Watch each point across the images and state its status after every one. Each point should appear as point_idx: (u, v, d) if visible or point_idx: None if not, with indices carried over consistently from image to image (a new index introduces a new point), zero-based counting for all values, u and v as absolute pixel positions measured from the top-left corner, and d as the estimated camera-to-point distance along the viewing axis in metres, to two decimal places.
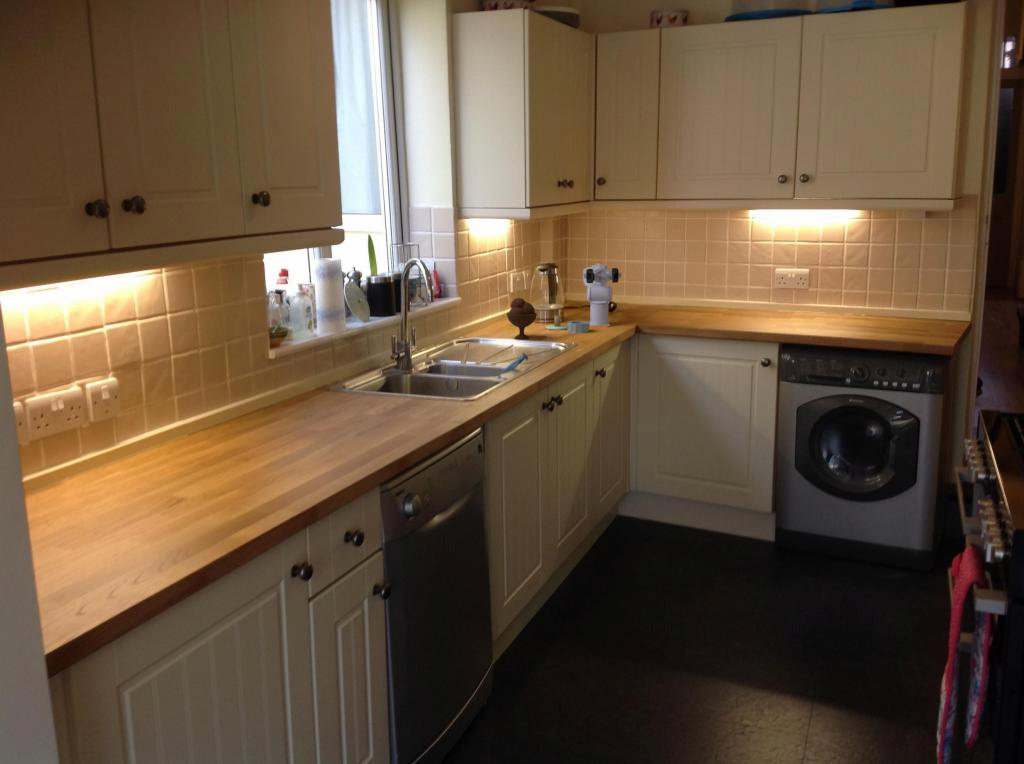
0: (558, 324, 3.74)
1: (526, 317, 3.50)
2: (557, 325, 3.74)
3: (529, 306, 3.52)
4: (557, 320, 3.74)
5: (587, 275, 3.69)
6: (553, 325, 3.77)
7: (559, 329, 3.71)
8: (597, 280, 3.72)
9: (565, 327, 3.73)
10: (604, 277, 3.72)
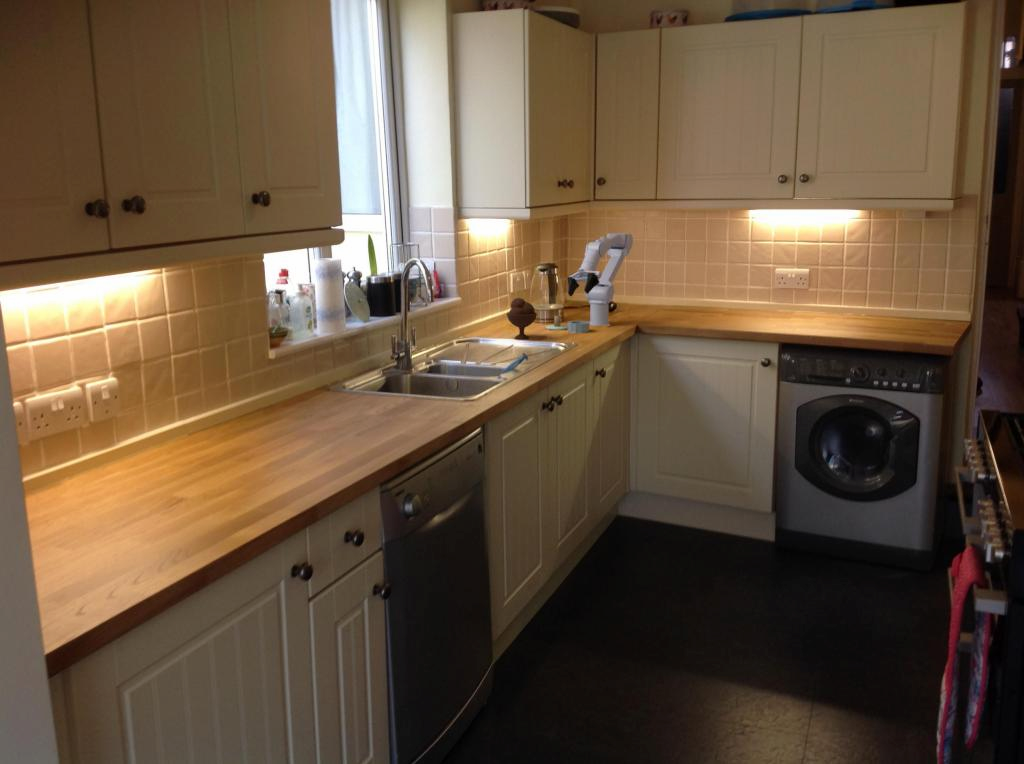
0: (558, 324, 3.74)
1: (526, 317, 3.50)
2: (557, 325, 3.74)
3: (529, 306, 3.52)
4: (557, 320, 3.74)
5: None
6: (553, 325, 3.77)
7: (559, 329, 3.71)
8: (583, 280, 3.71)
9: (565, 327, 3.73)
10: None
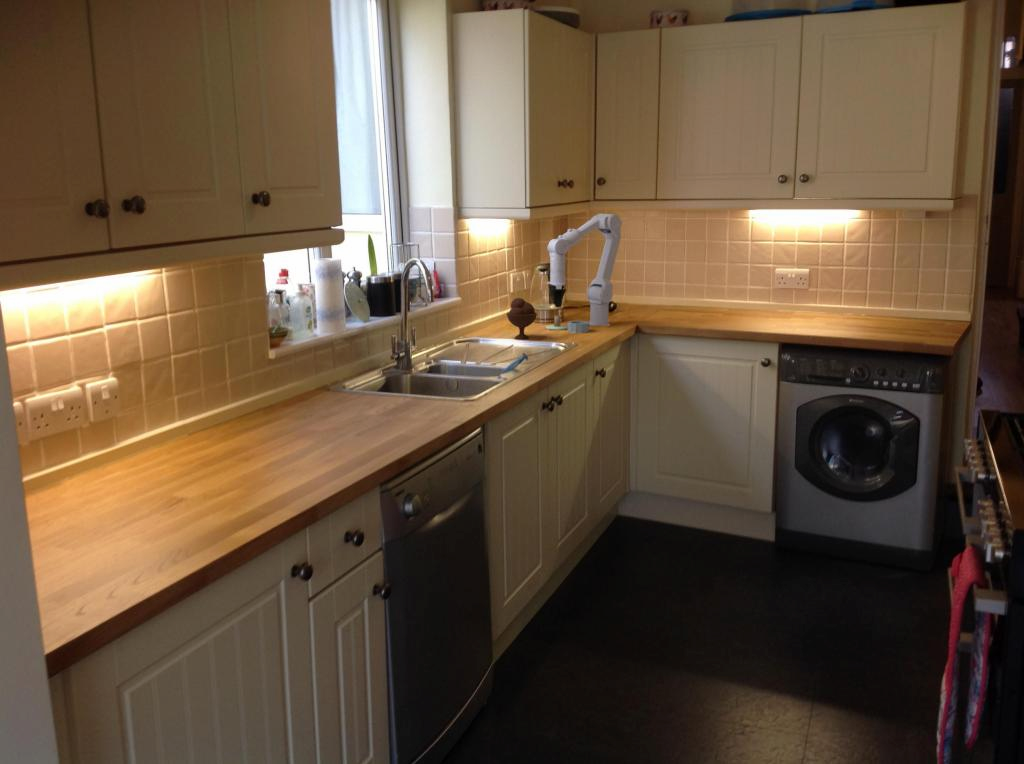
0: (558, 324, 3.74)
1: (526, 317, 3.50)
2: (557, 325, 3.74)
3: (529, 306, 3.52)
4: (557, 320, 3.74)
5: None
6: (553, 325, 3.77)
7: (559, 329, 3.71)
8: None
9: (565, 327, 3.73)
10: None
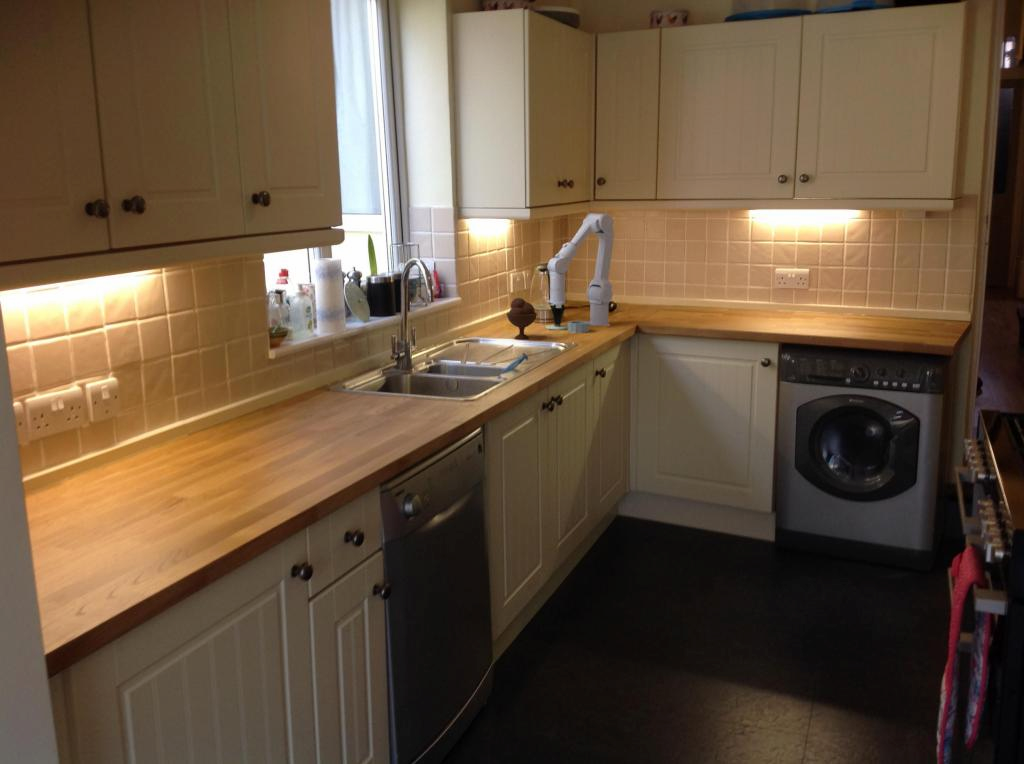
0: None
1: (526, 317, 3.50)
2: (557, 325, 3.74)
3: (529, 306, 3.52)
4: None
5: None
6: (553, 325, 3.77)
7: (559, 329, 3.71)
8: None
9: (565, 327, 3.72)
10: None
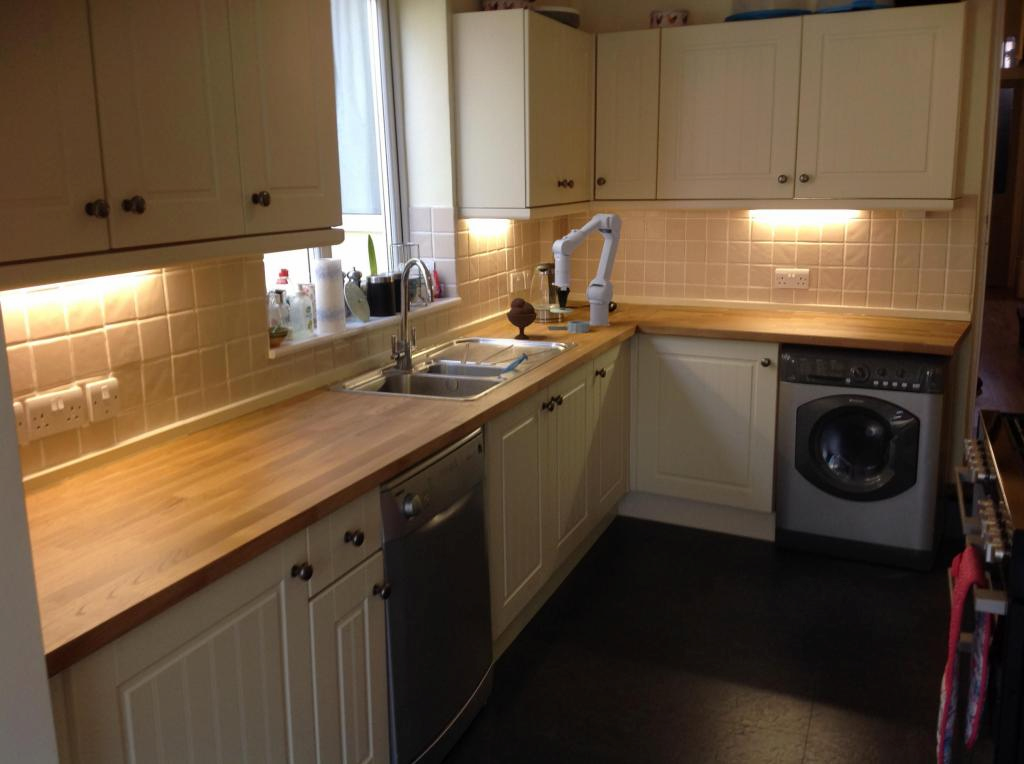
0: None
1: (526, 317, 3.50)
2: (562, 308, 3.71)
3: (529, 306, 3.52)
4: None
5: None
6: (558, 308, 3.74)
7: (563, 312, 3.68)
8: None
9: (570, 310, 3.69)
10: None
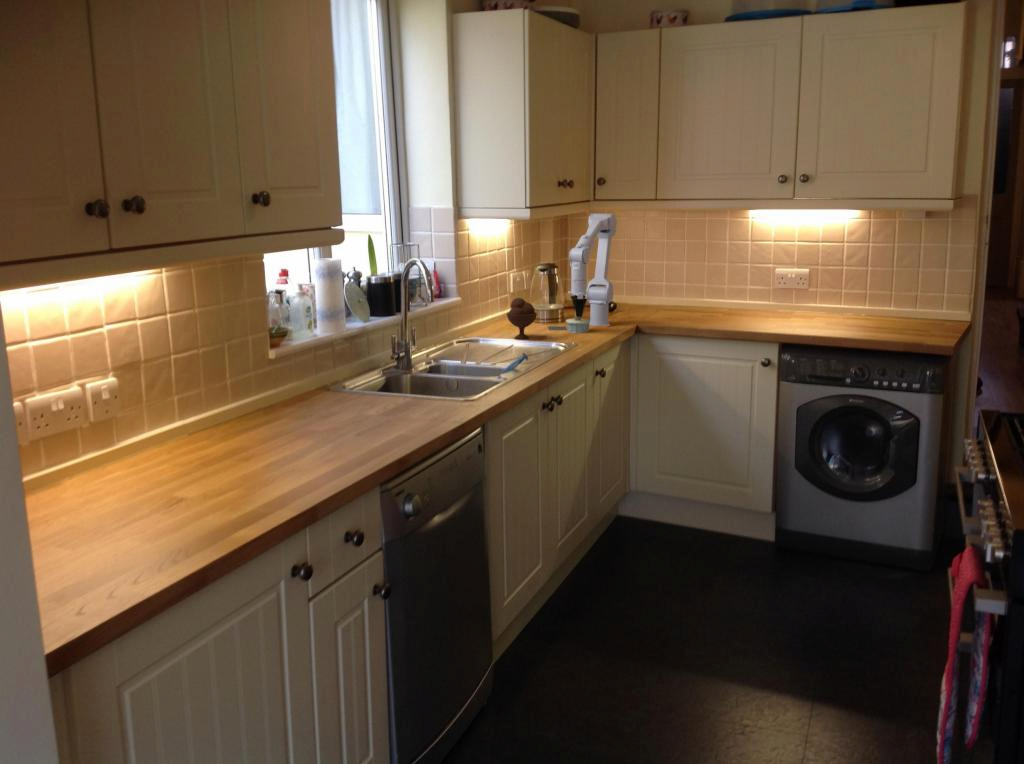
0: (578, 318, 3.66)
1: (526, 317, 3.50)
2: (577, 319, 3.67)
3: (529, 306, 3.52)
4: None
5: None
6: (573, 319, 3.70)
7: (579, 323, 3.63)
8: None
9: (585, 321, 3.65)
10: None
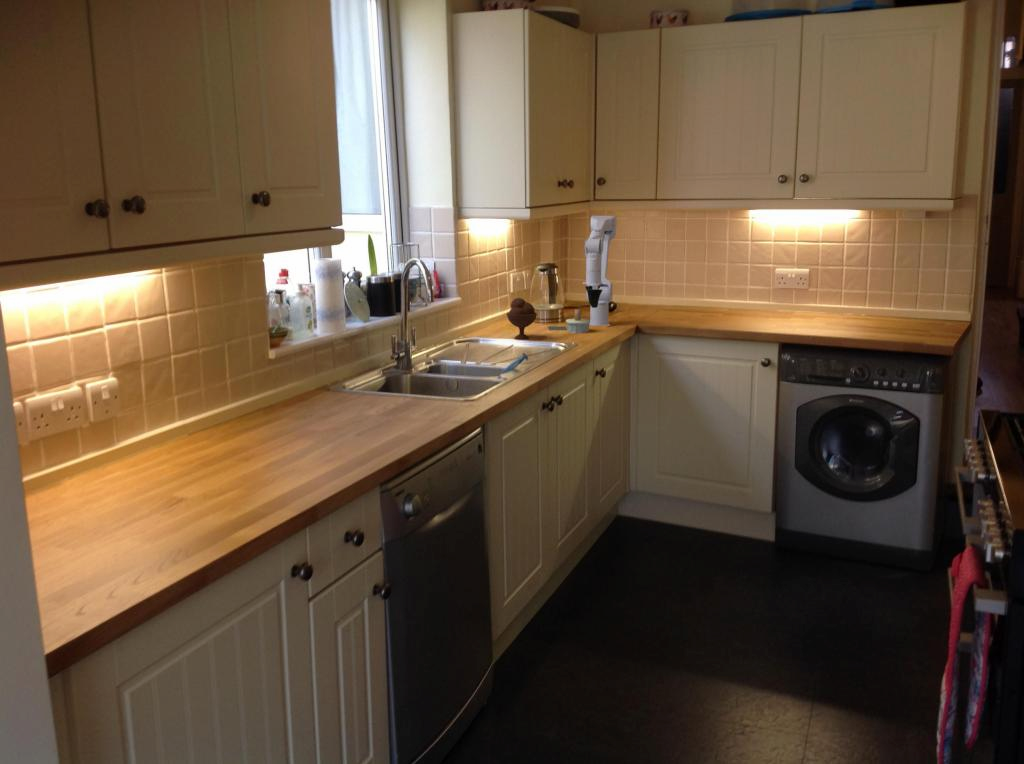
0: (578, 318, 3.66)
1: (526, 317, 3.50)
2: (577, 319, 3.67)
3: (529, 306, 3.52)
4: (577, 314, 3.66)
5: None
6: (573, 319, 3.70)
7: (579, 323, 3.63)
8: None
9: (585, 321, 3.65)
10: None
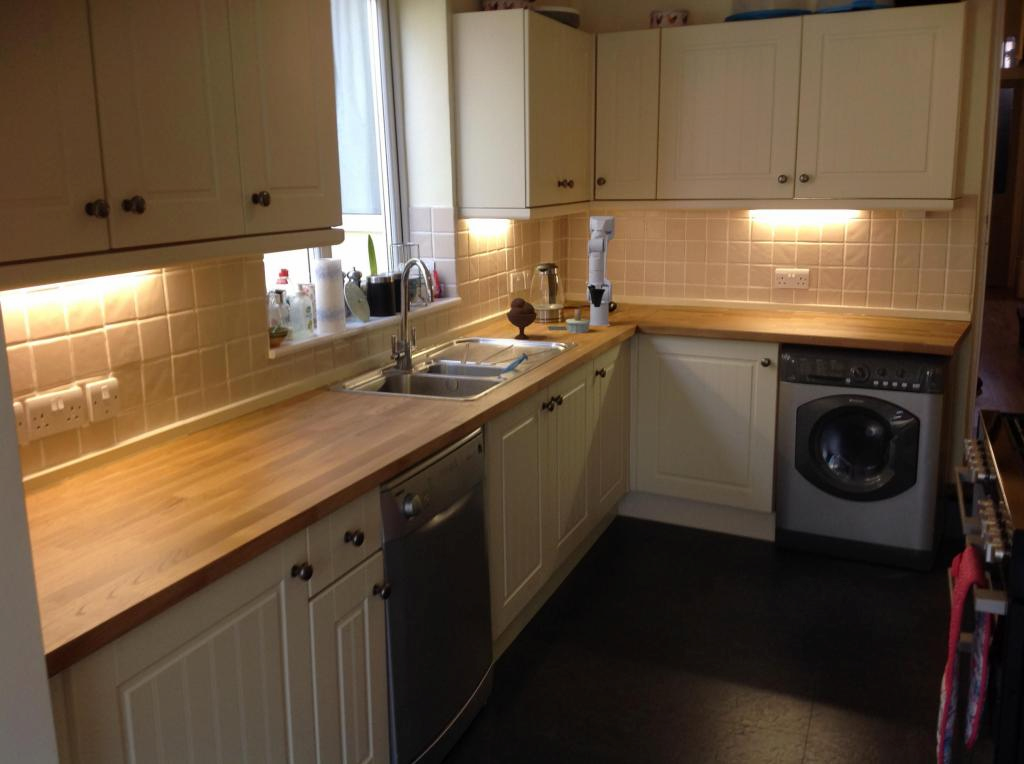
0: (578, 318, 3.66)
1: (526, 317, 3.50)
2: (577, 319, 3.67)
3: (529, 306, 3.52)
4: (577, 314, 3.66)
5: None
6: (573, 319, 3.70)
7: (579, 323, 3.63)
8: None
9: (585, 321, 3.65)
10: None
